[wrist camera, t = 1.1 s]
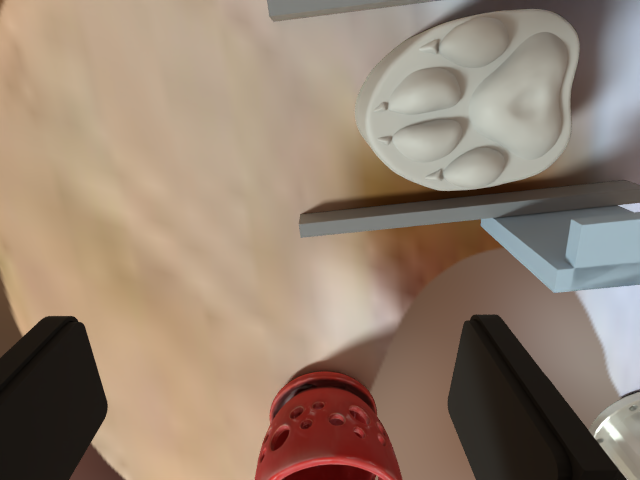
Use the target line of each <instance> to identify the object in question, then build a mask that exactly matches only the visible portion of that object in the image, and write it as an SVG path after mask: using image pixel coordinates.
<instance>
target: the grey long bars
mask: <svg viewBox="0 0 640 480" xmlns="http://www.w3.org/2000/svg"><path fill="white" fill-rule="evenodd" d="M431 1H439V0H267V3H268V10H269V17H270V18H271V19H272V20H273V22H274V21H282V20H290V19H298V18H306V17H314V16H321V15H329V14H337V13H345V12H353V11H361V10H369V9H376V8H384V7H392V6H400V5H408V4H416V3H423V2H431ZM632 203H640V185H638V184H635V183H632V182H629V181H626V180H621V181H611V182H602V183H592V184H583V185H573V186H564V187H554V188H545V189H535V190H526V191H517V192H507V193H498V194H488V195H479V196H469V197H460V198H450V199H441V200H431V201H422V202H413V203H403V204H394V205H384V206H375V207H365V208H356V209H346V210H337V211H327V212H318V213H309V214H300V220H299V229H300V236H301V238H303V237H312V236H322V235H332V234H341V233H351V232H361V231H370V230H380V229H390V228H400V227H409V226H419V225H429V224H438V223H448V222H458V221H467V220H477V219H487V218H496V217H506V216H516V215H526V214H535V213H545V212H555V211H564V210H574V209H584V208H593V207H603V206H613V205H622V204H632Z"/></svg>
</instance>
